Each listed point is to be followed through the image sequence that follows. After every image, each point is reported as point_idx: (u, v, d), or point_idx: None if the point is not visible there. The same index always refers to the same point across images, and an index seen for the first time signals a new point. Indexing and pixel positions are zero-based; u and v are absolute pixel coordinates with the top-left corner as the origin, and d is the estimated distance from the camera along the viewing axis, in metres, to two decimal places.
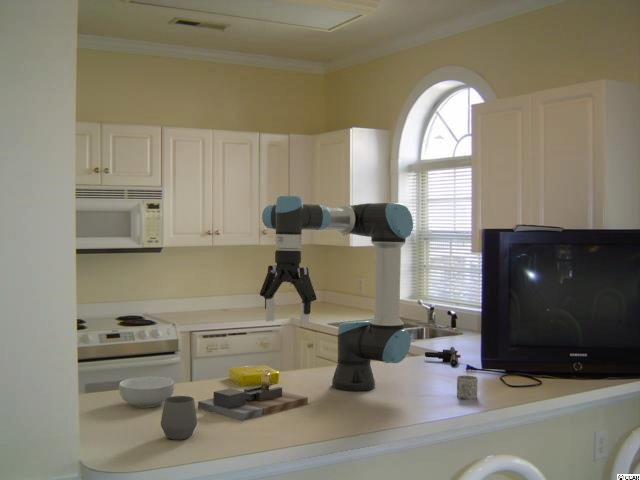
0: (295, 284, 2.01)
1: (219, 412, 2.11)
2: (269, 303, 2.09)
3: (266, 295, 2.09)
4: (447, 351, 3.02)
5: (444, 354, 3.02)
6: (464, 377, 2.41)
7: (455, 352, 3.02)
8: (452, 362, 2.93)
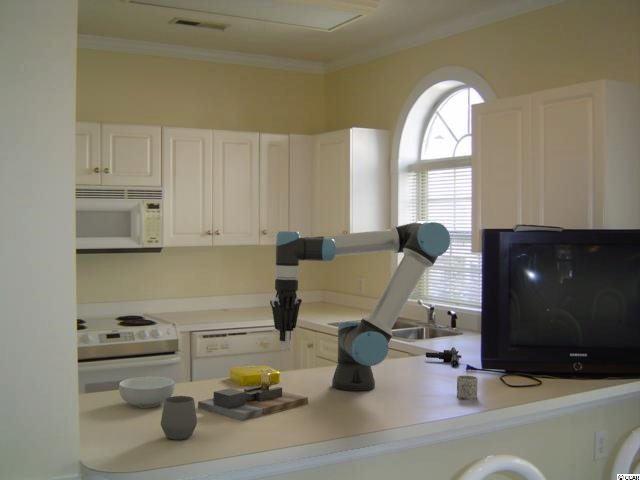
0: None
1: (219, 412, 2.11)
2: None
3: None
4: (448, 351, 3.01)
5: (445, 354, 3.01)
6: (464, 377, 2.41)
7: (456, 352, 3.01)
8: (453, 362, 2.92)
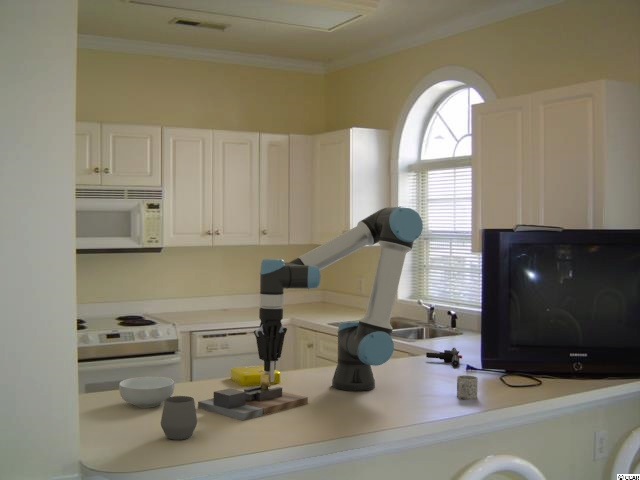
0: None
1: (219, 412, 2.11)
2: None
3: None
4: (448, 352, 3.00)
5: (445, 355, 3.00)
6: (464, 377, 2.41)
7: (456, 353, 3.00)
8: (453, 363, 2.91)
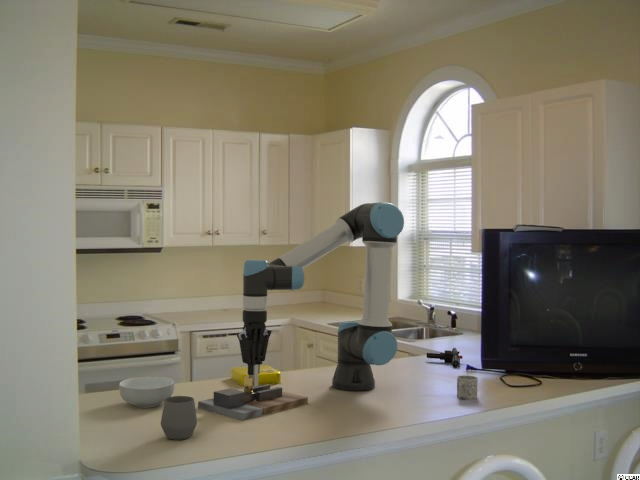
0: None
1: (219, 412, 2.11)
2: None
3: None
4: (449, 352, 3.00)
5: (446, 355, 2.99)
6: (464, 377, 2.41)
7: (457, 353, 2.99)
8: (454, 363, 2.91)
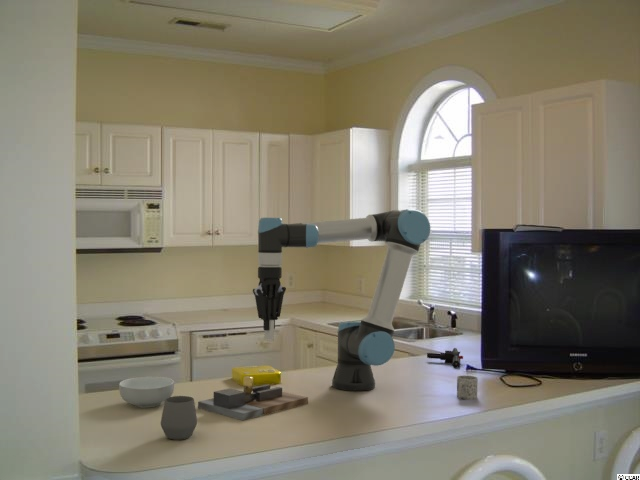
0: None
1: (219, 412, 2.11)
2: None
3: None
4: (449, 352, 2.99)
5: (446, 355, 2.99)
6: (464, 377, 2.41)
7: (457, 353, 2.99)
8: (454, 363, 2.90)
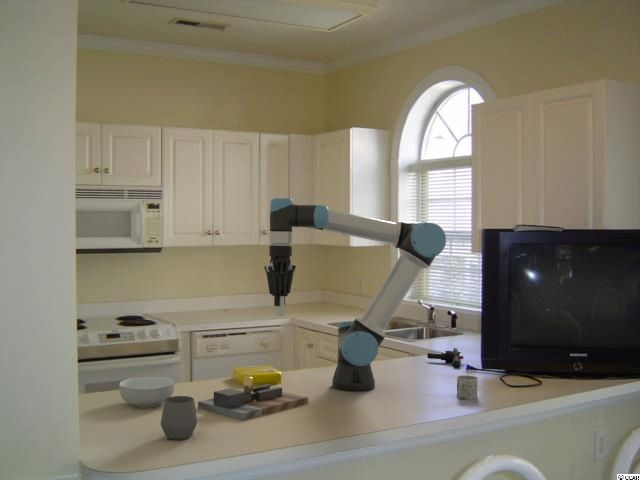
0: None
1: (219, 412, 2.11)
2: None
3: None
4: (450, 352, 2.99)
5: (447, 355, 2.98)
6: (464, 377, 2.41)
7: (458, 353, 2.98)
8: (455, 363, 2.90)
